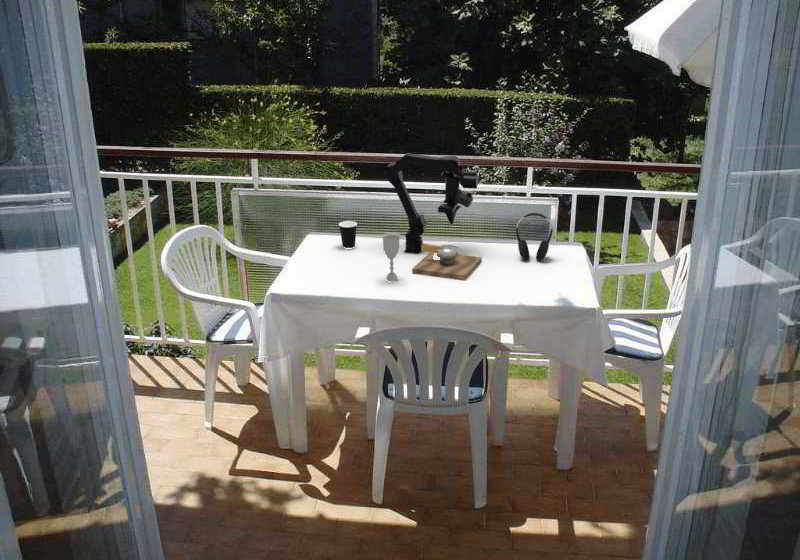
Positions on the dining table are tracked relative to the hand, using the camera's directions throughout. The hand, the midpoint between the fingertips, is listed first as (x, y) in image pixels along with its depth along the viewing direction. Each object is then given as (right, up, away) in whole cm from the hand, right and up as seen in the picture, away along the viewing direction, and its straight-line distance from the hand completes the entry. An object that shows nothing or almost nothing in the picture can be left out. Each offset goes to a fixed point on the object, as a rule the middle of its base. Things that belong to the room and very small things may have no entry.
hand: (451, 223), depth 323 cm
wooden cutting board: (-3, -18, -11) cm, 22 cm away
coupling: (-6, -13, -12) cm, 19 cm away
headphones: (+33, -15, -4) cm, 37 cm away
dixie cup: (-44, -10, +13) cm, 47 cm away
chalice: (-25, -24, -23) cm, 41 cm away
